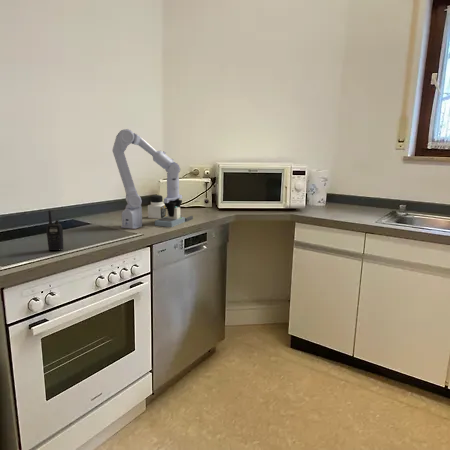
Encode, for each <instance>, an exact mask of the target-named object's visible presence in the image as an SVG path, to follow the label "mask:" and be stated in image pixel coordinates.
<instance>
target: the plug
mask: <svg viewBox="0 0 450 450" xmlns="http://www.w3.org/2000/svg"><path fill="white" fill-rule="evenodd" d="M166 211H167V212H168V210H167V209H166ZM180 215H181V206H180V207H177V206H175V209H174V217H170V216H169V214H168V213H167V216H168V218H169V219H179V218H180Z"/></svg>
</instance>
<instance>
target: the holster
mask: <svg viewBox="0 0 450 450" xmlns="http://www.w3.org/2000/svg"><path fill="white" fill-rule="evenodd" d="M180 217H182V215H181V214H180ZM193 219H194V216H193V215H191V216H187V217H185V222H189V221H192V220H193Z"/></svg>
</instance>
